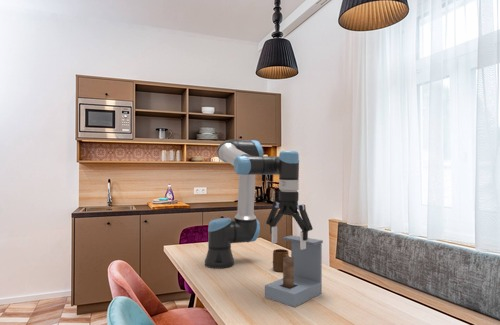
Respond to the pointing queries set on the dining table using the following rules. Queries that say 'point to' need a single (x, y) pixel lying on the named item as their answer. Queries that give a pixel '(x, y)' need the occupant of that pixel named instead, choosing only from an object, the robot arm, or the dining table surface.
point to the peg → (288, 272)
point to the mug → (279, 259)
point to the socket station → (300, 274)
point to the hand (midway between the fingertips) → (288, 245)
